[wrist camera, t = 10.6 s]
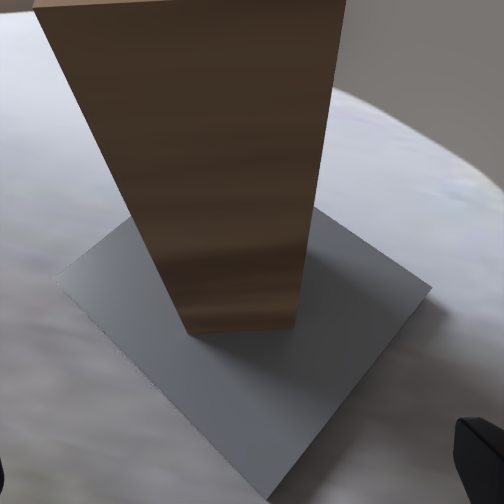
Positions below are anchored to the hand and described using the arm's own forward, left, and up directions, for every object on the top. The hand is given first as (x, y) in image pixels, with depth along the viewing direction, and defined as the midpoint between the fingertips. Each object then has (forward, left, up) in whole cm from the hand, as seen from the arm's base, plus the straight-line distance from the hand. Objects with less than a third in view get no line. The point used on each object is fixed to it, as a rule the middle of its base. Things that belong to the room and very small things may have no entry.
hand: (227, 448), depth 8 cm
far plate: (+5, -5, -9) cm, 12 cm away
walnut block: (+5, -5, -8) cm, 11 cm away
